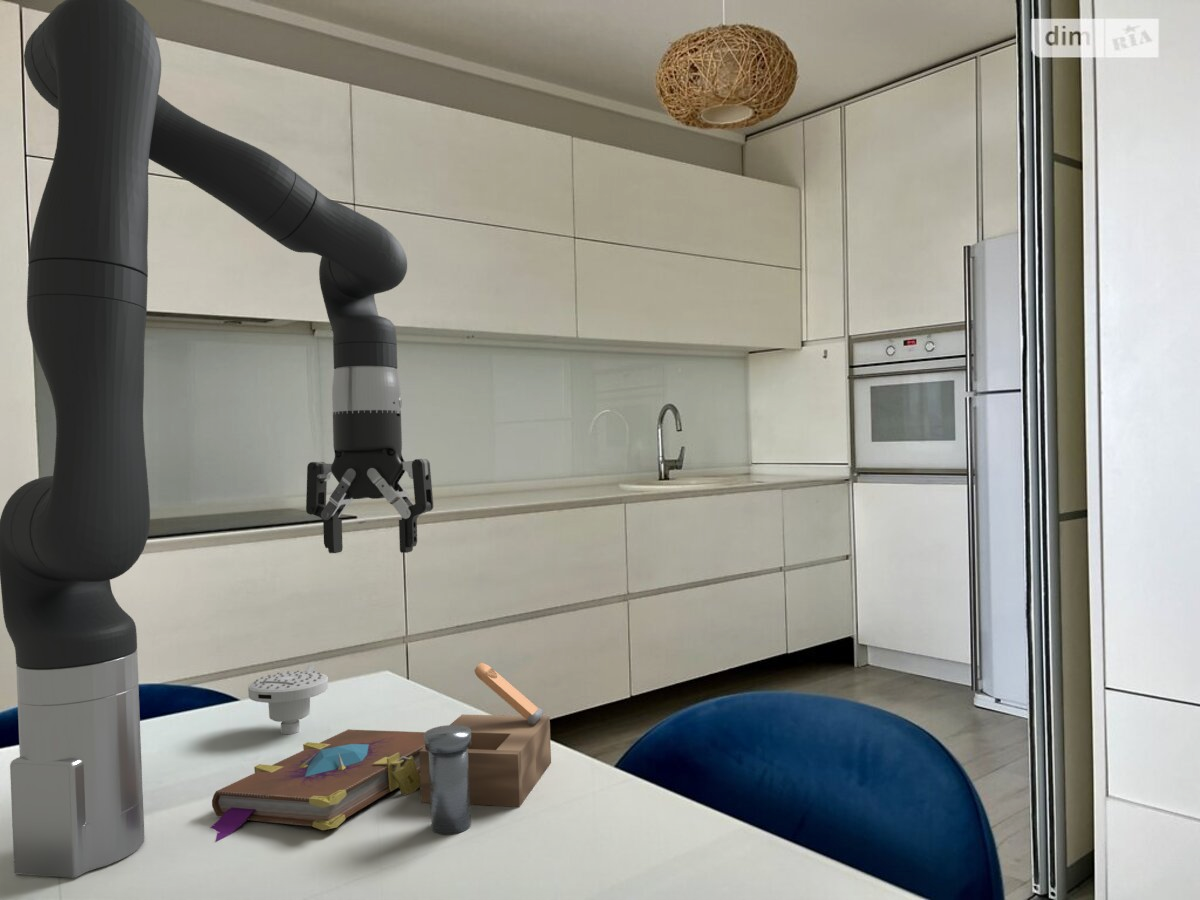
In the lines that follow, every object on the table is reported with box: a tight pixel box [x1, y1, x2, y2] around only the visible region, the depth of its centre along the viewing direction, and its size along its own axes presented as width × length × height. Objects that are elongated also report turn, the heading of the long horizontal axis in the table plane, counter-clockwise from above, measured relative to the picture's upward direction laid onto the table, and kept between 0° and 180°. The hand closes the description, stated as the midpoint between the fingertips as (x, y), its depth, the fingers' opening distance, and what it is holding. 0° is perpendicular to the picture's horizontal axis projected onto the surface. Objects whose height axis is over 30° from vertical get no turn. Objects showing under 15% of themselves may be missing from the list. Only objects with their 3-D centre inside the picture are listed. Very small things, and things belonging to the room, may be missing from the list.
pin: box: [424, 724, 472, 836], centre depth 82 cm, size 4×4×9 cm
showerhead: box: [247, 663, 329, 735], centre depth 113 cm, size 9×7×10 cm
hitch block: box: [419, 714, 552, 807], centre depth 93 cm, size 12×10×5 cm
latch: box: [474, 662, 544, 725], centre depth 97 cm, size 3×9×1 cm
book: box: [209, 729, 426, 843], centre depth 91 cm, size 16×25×5 cm, turn 157°
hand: (370, 552), depth 102 cm, fingers open, 8 cm apart
